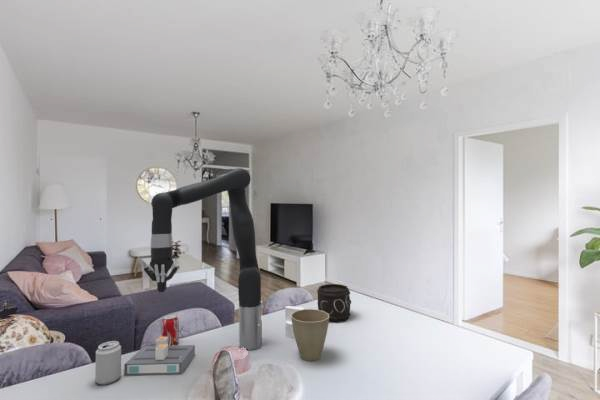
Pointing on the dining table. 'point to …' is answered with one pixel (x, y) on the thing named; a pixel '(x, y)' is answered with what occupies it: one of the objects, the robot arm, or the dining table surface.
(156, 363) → the console
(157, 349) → the slider
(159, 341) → the slider
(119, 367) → the can
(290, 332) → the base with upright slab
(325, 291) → the dark brown cylinder
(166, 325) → the soda can
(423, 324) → the dining table surface
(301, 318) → the plant pot
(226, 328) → the dining table surface
